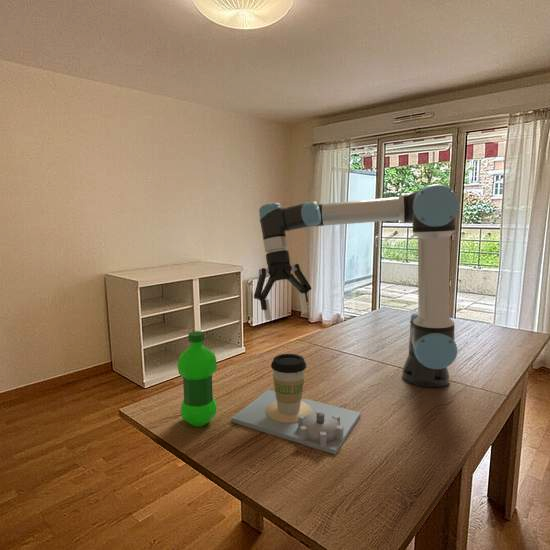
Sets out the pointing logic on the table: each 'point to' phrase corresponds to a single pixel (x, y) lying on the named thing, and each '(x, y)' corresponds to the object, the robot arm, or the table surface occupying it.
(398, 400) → the table surface
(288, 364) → the coffee cup
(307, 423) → the gear board
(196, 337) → the plastic bottle
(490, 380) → the table surface
